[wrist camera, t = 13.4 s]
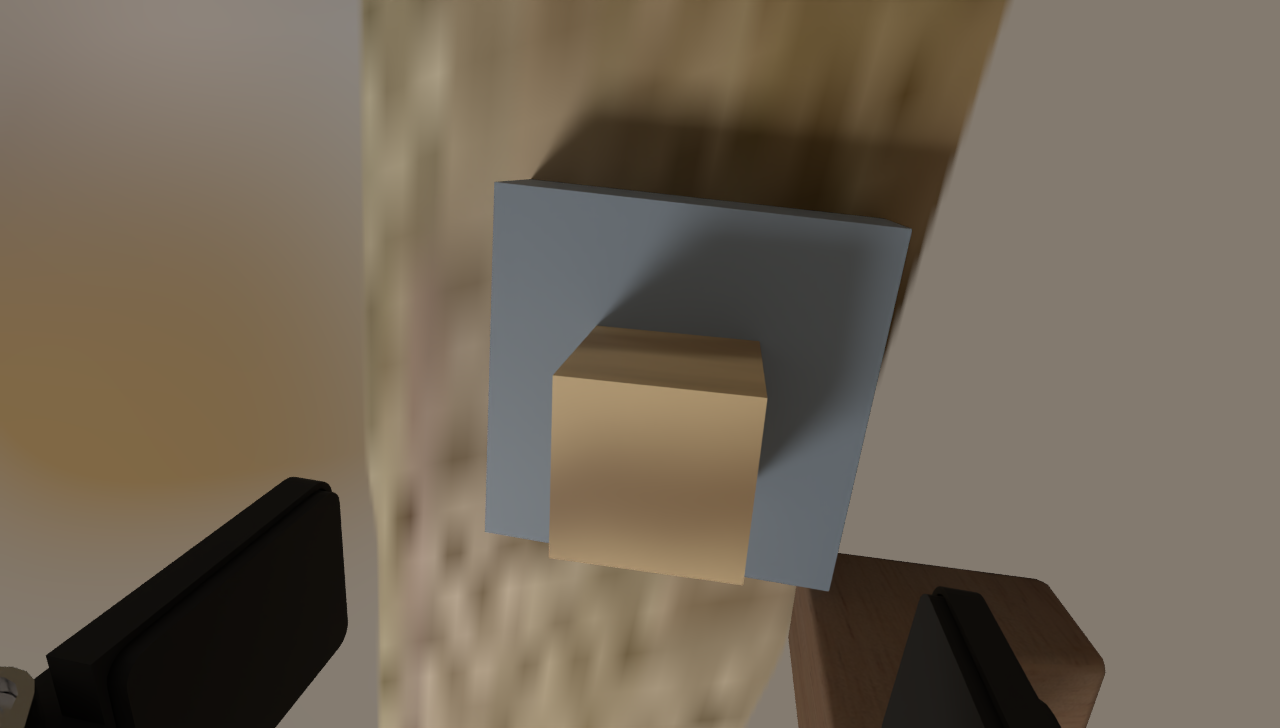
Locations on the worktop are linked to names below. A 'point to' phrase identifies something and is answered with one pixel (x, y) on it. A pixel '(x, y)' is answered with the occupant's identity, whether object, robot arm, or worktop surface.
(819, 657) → the wooden block
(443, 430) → the worktop surface
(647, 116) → the worktop surface
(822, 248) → the slate base block
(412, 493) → the worktop surface
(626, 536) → the oak cube
